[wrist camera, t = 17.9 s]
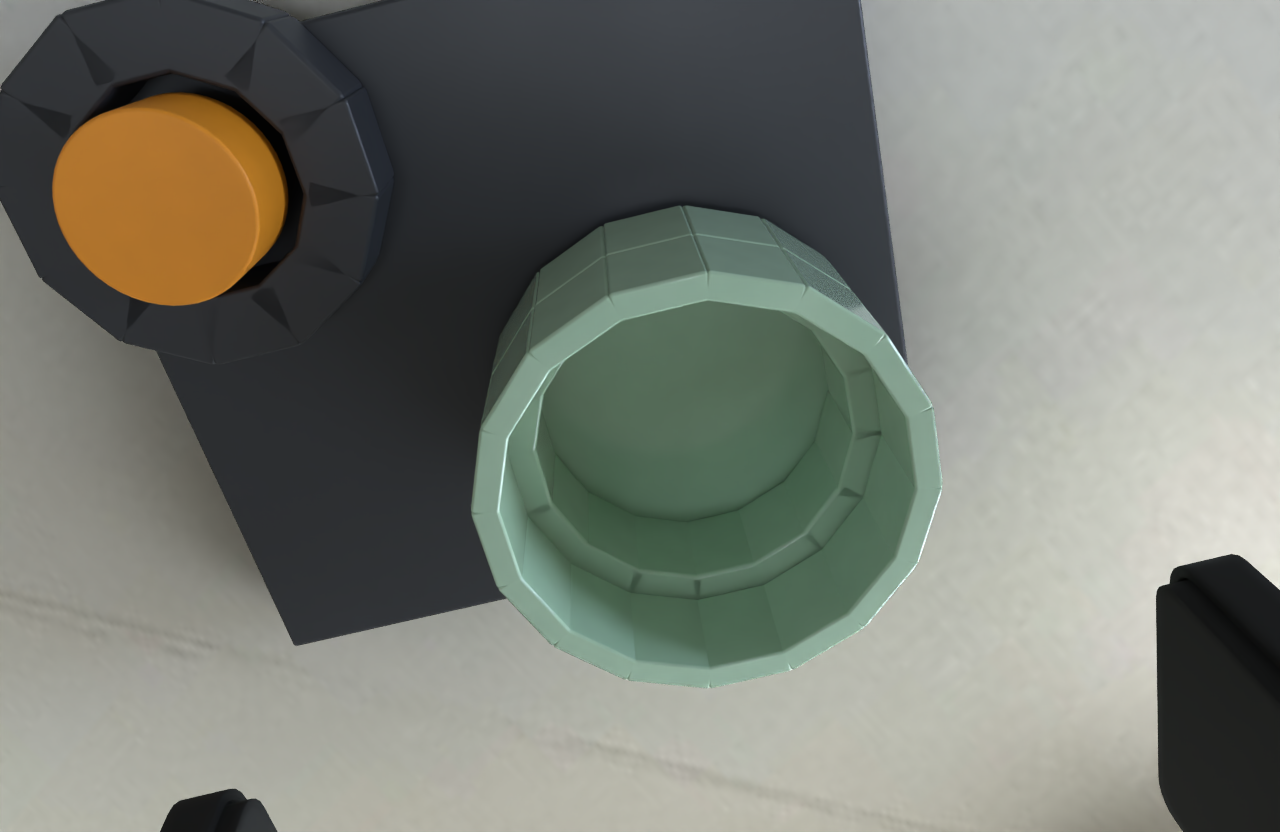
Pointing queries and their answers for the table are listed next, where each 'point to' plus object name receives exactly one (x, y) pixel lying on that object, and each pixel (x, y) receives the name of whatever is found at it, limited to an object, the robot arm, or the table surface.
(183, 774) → the table surface
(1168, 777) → the robot arm
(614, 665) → the bowl
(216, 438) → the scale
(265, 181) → the orange cylinder
